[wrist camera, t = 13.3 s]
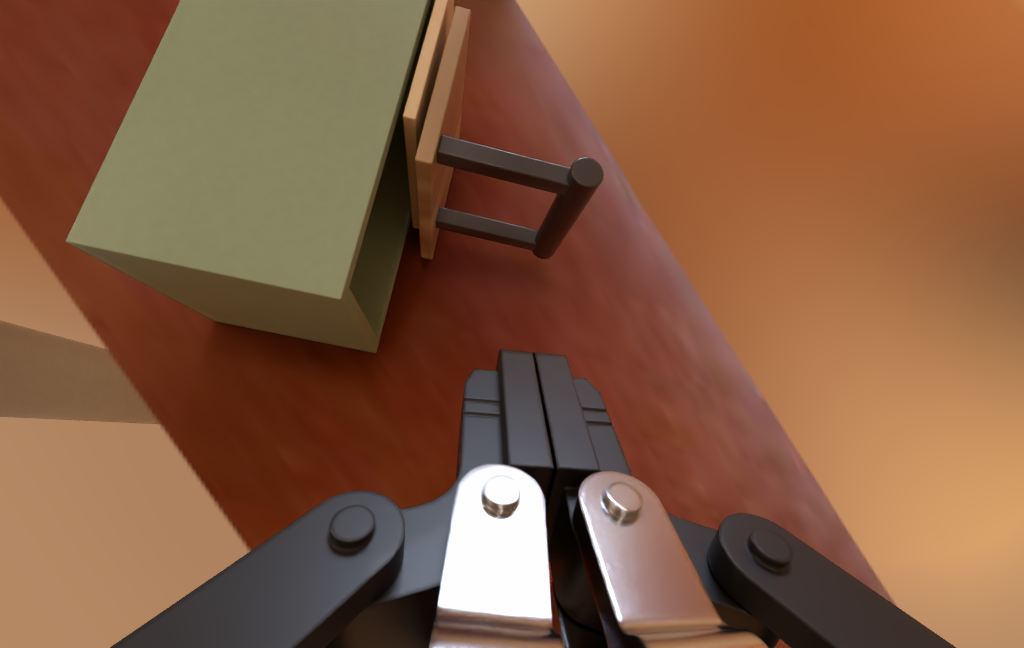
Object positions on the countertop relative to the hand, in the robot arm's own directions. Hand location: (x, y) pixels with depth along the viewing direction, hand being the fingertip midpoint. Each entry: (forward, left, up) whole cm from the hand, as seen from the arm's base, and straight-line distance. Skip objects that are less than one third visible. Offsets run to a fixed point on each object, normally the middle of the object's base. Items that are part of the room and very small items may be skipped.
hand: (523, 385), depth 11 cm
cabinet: (-4, +16, -20) cm, 26 cm away
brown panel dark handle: (+7, +13, -19) cm, 24 cm away
